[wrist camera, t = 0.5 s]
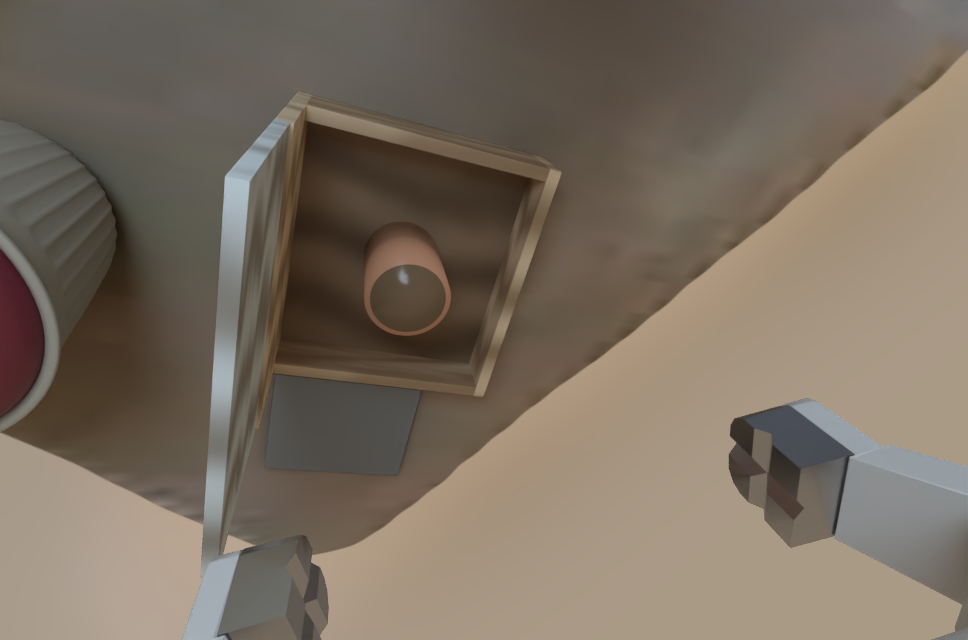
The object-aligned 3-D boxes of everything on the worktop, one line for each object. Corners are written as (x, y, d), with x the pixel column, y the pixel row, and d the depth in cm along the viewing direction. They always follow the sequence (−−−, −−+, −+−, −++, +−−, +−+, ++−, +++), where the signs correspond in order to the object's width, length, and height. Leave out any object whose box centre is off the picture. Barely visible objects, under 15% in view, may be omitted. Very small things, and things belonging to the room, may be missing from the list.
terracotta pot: (371, 214, 43) (373, 252, 36) (445, 230, 45) (460, 268, 38) (358, 283, 46) (357, 329, 39) (428, 294, 48) (439, 341, 41)
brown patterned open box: (298, 91, 39) (225, 176, 18) (543, 157, 45) (692, 276, 24) (269, 340, 48) (200, 577, 28) (474, 366, 54) (539, 577, 34)
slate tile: (277, 368, 50) (275, 374, 49) (420, 384, 54) (421, 390, 53) (265, 460, 55) (263, 467, 54) (396, 469, 59) (397, 475, 58)
